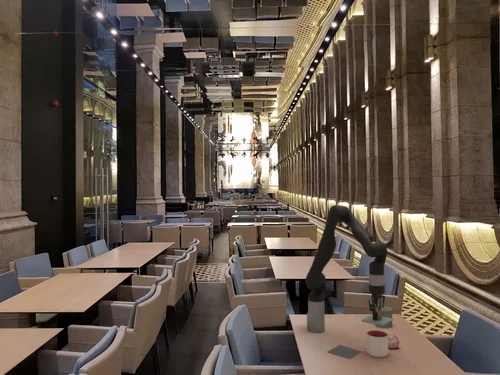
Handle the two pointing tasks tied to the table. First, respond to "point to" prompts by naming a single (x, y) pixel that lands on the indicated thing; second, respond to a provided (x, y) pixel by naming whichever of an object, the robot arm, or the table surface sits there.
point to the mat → (344, 352)
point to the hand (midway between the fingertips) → (377, 318)
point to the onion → (392, 341)
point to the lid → (379, 321)
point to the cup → (377, 343)
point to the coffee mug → (386, 313)
